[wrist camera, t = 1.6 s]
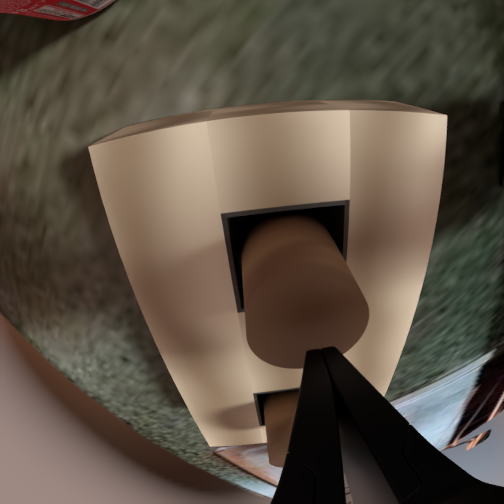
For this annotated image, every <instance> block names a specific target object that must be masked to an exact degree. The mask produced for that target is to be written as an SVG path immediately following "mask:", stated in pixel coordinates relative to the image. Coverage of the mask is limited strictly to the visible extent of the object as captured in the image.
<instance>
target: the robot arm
mask: <svg viewBox="0 0 504 504" xmlns="http://www.w3.org/2000/svg"><path fill="white" fill-rule="evenodd" d="M499 183H500V185H501V186H502V187H504V151H503V160H502V167H501V174H500V181H499ZM343 469H344V472H343ZM344 473H345V476H346V480H347V483H348V486H349V490H350V493H351V497H352V500H353V503H354V504H504V487H502V486H497V485H492V484H488V483H485V482H482V481H480V480H478V479H476V478H474V477H473V476H471V475H470V474H468V473H467V472H466V471H465V470H463V469H462V468H461V467H459V466H458V465H457V464H455V463H454V462H453V461H451V460H450V459H449V458H447V457H446V456H445V455H444V454H442V453H441V452H440V451H439V450H437V449H436V448H435V447H434V446H433V445H431V444H430V443H429V442H428V441H427V440H426V439H425V438H424V437H423V436H422V435H421V434H420V433H419V432H418V431H417V430H416V429H415V428H414V427H413V426H412V425H409V422H408V421H407V420H406V419H405V418H404V417H403V416H402V415H401V414H400V413H399V412H398V411H397V410H396V409H395V408H394V407H393V406H392V405H391V404H390V403H389V402H388V401H387V400H386V399H385V397H384V396H383V395H382V394H381V393H380V392H379V391H378V390H377V389H376V388H375V387H374V386H373V385H372V384H371V383H370V382H369V381H368V380H367V379H366V378H365V377H364V376H363V375H362V374H361V373H360V372H359V371H358V370H357V369H356V368H355V367H354V366H353V364H352V363H351V362H350V361H349V360H348V359H347V358H346V357H345V356H344V355H343V354H342V353H341V352H340V351H339V350H338V349H337V348H336V347H334V346H330V347H324V348H321V350H320V349H312V350H307V351H306V355H305V361H304V367H303V373H302V379H301V384H300V390H299V395H298V400H297V406H296V411H295V416H294V421H293V426H292V431H291V435H290V440H289V445H288V449H287V454H286V458H285V462H284V466H283V470H282V473H281V477H280V480H279V483H278V486H277V489H276V491H275V494H274V496H273V499H272V501H271V504H346V494H345V482H344Z"/></svg>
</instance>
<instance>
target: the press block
mask: <svg viewBox="0 0 504 504" xmlns="http://www.w3.org/2000/svg"><path fill="white" fill-rule="evenodd" d="M446 134H447V115H445V114H441V113H438V112H434V111H431V110H427V109H423V108H419V107H416V106H412V105H407V104H403V103H399V102H394V101H380V100H306V101H287V102H273V103H261V104H251V105H241V106H233V107H225V108H218V109H211V110H204V111H198V112H192V113H186V114H180V115H175V116H169V117H164V118H159V119H155V120H150V121H145V122H141V123H137V124H132V125H128V126H126V127H124V128H122V129H120V130H118V131H116V132H114V133H113V134H111V135H109V136H107V137H105V138H103V139H101V140H99V141H98V142H96V143H94V144H92V145H90V146H89V147H88V148H89V152H90V156H91V160H92V164H93V168H94V172H95V176H96V180H97V183H98V187H99V191H100V194H101V198H102V201H103V204H104V208H105V211H106V214H107V218H108V221H109V224H110V227H111V230H112V233H113V236H114V239H115V242H116V245H117V248H118V251H119V254H120V257H121V259H122V262H123V265H124V268H125V270H126V273H127V276H128V278H129V281H130V284H131V286H132V289H133V291H134V294H135V296H136V299H137V301H138V304H139V306H140V309H141V311H142V313H143V316H144V318H145V320H146V323H147V325H148V327H149V330H150V332H151V334H152V336H153V339H154V341H155V343H156V345H157V347H158V350H159V352H160V354H161V356H162V358H163V360H164V362H165V364H166V366H167V368H168V370H169V372H170V374H171V377H172V378H173V380H174V382H175V384H176V386H177V388H178V390H179V392H180V394H181V396H182V398H183V400H184V402H185V404H186V405H187V407H188V409H189V411H190V413H191V415H192V416H193V418H194V420H195V422H196V423H197V425H198V427H199V429H200V430H201V432H202V434H203V436H204V437H205V439H206V441H207V442H208V444H209V446H210V447H212V446H233V445H247V444H258V443H267V436H266V426H265V417H264V407H263V402H264V399H265V398H266V397H267V396H268V395H269V394H271V393H273V392H281V391H288V390H295V389H300V384H301V379H302V373H303V368H302V369H288V368H281V367H277V366H273V365H270V364H268V363H266V362H264V361H262V360H261V359H259V358H258V357H257V356H256V355H255V354H254V353H253V352H252V350H251V349H250V347H249V345H248V342H247V338H246V324H245V309H244V294H243V279H242V263H241V252H238V246H237V239H236V232H235V225H234V219H233V217H236V216H245V215H253V214H261V213H270V212H279V211H288V210H297V209H307V208H315V218H316V219H317V220H318V221H320V222H321V223H322V224H323V225H324V226H325V227H326V229H327V230H328V232H329V233H330V235H331V237H332V239H333V240H334V242H335V244H336V246H337V247H338V249H339V251H340V253H341V254H342V256H343V258H344V260H345V262H346V263H347V265H348V267H349V269H350V271H351V273H352V274H353V276H354V278H355V280H356V282H357V284H358V286H359V288H360V289H361V291H362V293H363V295H364V297H365V299H366V301H367V303H368V307H369V321H368V325H367V328H366V330H365V332H364V334H363V335H362V337H361V338H360V339H359V341H358V342H357V343H356V344H355V345H354V346H353V347H352V348H351V349H350V350H348V351H347V352H346V353H344V354H343V355H344V356H345V357H346V358H347V359H348V360H349V361H350V362H351V363H352V364H353V366H354V367H355V368H356V369H357V370H358V371H359V372H360V373H361V374H362V375H363V376H364V377H365V378H366V379H367V380H368V381H369V382H370V383H371V384H372V385H373V386H374V387H375V388H376V389H377V390H378V391H379V392H380V393H381V394H382V395H383V396H384V395H385V393H386V391H387V388H388V386H389V384H390V381H391V379H392V376H393V374H394V371H395V368H396V366H397V363H398V361H399V358H400V355H401V352H402V350H403V347H404V344H405V341H406V338H407V335H408V332H409V329H410V326H411V323H412V320H413V316H414V313H415V310H416V306H417V303H418V299H419V296H420V292H421V288H422V285H423V281H424V277H425V273H426V269H427V265H428V260H429V256H430V251H431V247H432V242H433V237H434V231H435V226H436V220H437V215H438V208H439V202H440V195H441V188H442V180H443V171H444V161H445V149H446Z"/></svg>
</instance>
